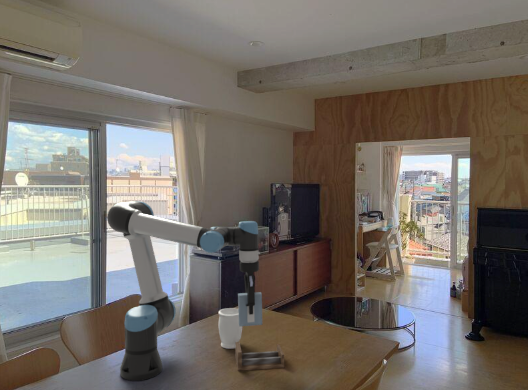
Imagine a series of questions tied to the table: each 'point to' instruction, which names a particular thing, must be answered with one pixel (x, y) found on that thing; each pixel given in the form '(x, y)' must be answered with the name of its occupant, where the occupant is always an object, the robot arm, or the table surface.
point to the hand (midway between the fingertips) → (250, 320)
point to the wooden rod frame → (258, 359)
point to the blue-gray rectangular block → (243, 309)
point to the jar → (229, 327)
